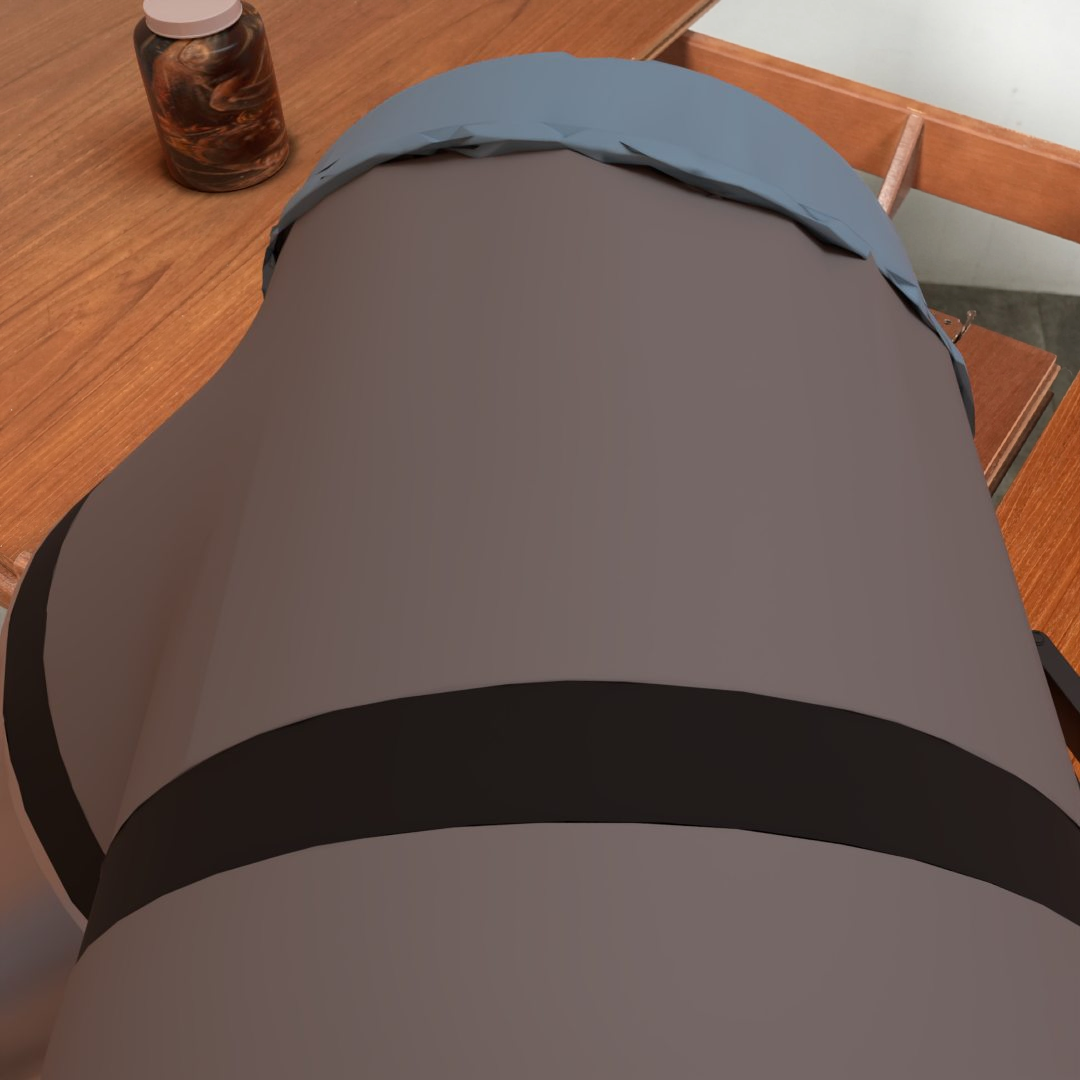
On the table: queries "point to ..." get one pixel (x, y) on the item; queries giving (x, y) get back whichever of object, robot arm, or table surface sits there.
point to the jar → (212, 92)
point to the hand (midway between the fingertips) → (775, 681)
